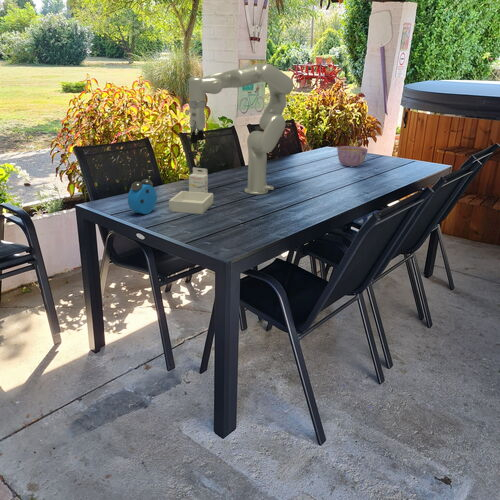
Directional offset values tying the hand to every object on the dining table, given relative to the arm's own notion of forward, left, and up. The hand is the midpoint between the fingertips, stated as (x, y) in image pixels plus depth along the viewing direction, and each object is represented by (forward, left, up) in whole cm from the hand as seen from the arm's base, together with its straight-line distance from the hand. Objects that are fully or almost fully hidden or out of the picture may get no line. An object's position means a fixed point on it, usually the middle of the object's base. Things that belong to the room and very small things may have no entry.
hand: (197, 141), depth 241 cm
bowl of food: (-74, -104, -28) cm, 131 cm away
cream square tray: (-2, +17, -28) cm, 33 cm away
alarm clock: (+16, +32, -28) cm, 45 cm away
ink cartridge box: (0, 0, -28) cm, 28 cm away
